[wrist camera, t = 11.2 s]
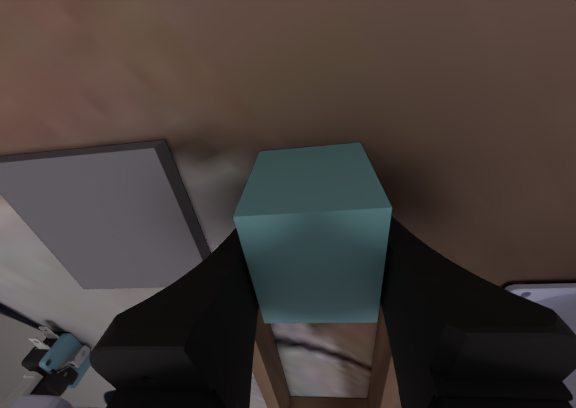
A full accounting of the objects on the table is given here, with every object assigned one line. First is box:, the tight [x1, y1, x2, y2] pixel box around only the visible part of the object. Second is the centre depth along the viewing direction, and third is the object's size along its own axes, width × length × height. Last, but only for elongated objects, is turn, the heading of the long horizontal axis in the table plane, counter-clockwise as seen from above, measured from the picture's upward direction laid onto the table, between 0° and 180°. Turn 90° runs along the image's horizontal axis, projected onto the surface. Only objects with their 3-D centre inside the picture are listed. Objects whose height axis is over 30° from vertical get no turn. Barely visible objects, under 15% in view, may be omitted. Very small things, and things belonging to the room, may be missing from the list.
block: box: [233, 142, 392, 323], centre depth 11 cm, size 4×6×5 cm
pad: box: [0, 140, 210, 289], centre depth 14 cm, size 9×9×1 cm
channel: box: [252, 304, 399, 408], centre depth 20 cm, size 10×21×3 cm, turn 7°
